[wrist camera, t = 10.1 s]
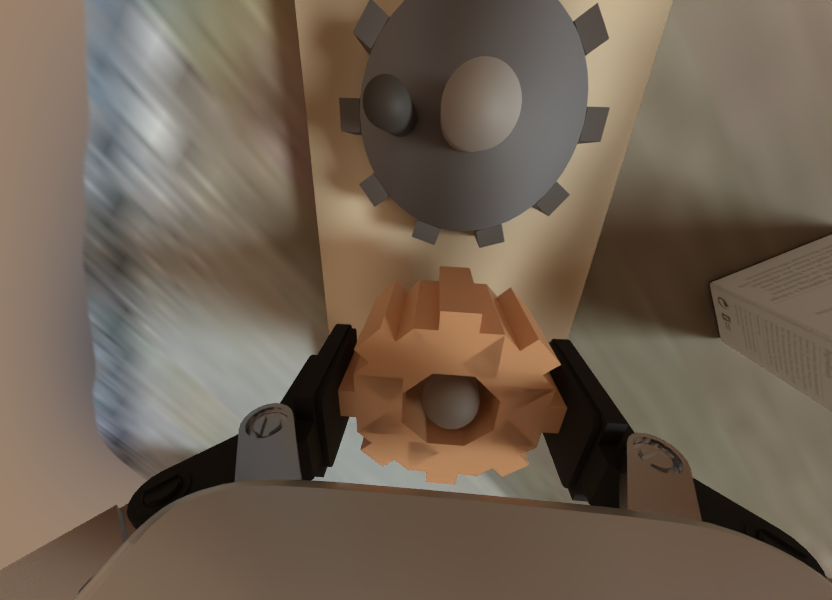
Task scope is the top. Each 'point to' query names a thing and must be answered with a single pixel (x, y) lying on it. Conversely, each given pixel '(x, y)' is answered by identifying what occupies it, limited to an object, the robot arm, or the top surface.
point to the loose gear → (451, 355)
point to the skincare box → (783, 316)
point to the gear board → (526, 236)
